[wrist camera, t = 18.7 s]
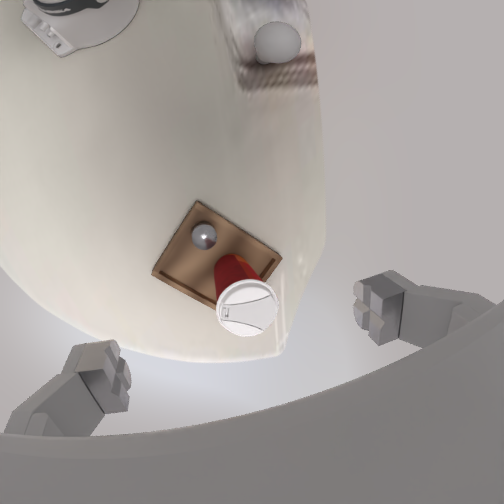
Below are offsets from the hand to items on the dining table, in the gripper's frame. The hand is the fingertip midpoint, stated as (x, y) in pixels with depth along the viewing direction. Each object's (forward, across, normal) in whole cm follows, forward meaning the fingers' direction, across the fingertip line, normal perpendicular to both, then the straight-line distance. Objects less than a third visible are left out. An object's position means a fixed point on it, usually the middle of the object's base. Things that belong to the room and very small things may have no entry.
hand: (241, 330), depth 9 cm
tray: (+37, -1, +12) cm, 39 cm away
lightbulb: (+37, -13, -19) cm, 44 cm away
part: (+36, 0, +6) cm, 37 cm away
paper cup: (+37, -3, +13) cm, 39 cm away
